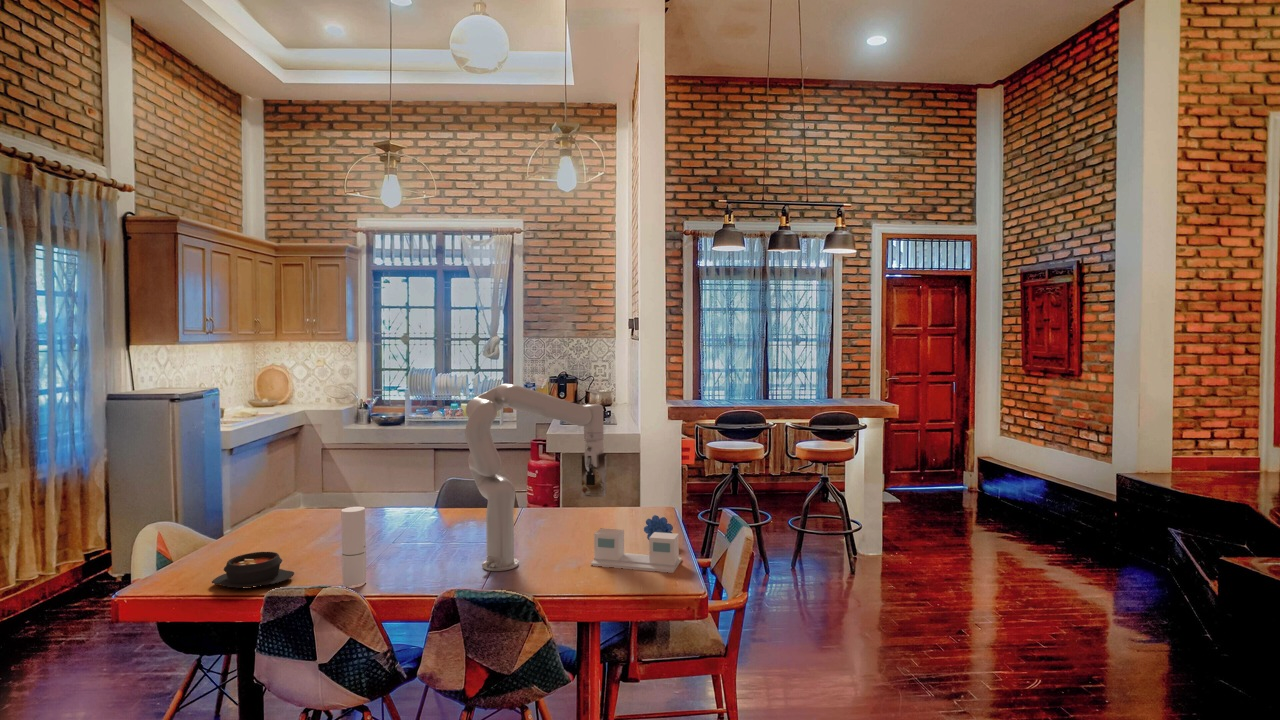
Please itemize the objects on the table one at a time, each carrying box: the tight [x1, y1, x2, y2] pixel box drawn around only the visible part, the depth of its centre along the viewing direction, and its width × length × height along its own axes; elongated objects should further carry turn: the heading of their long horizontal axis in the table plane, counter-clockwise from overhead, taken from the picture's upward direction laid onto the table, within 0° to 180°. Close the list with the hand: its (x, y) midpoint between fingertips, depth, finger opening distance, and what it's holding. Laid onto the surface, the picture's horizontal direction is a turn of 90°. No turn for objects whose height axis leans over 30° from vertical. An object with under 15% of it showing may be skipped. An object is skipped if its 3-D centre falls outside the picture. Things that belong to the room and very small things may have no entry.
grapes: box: [643, 514, 674, 541], centre depth 259 cm, size 12×7×12 cm, turn 92°
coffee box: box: [580, 451, 608, 498], centre depth 256 cm, size 9×6×16 cm
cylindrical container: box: [340, 506, 367, 587], centre depth 220 cm, size 7×7×25 cm
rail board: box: [590, 528, 683, 574], centre depth 239 cm, size 14×30×11 cm, turn 74°
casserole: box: [211, 551, 295, 589], centre depth 223 cm, size 25×19×8 cm
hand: (593, 482), depth 256 cm, fingers closed on coffee box, 7 cm apart
